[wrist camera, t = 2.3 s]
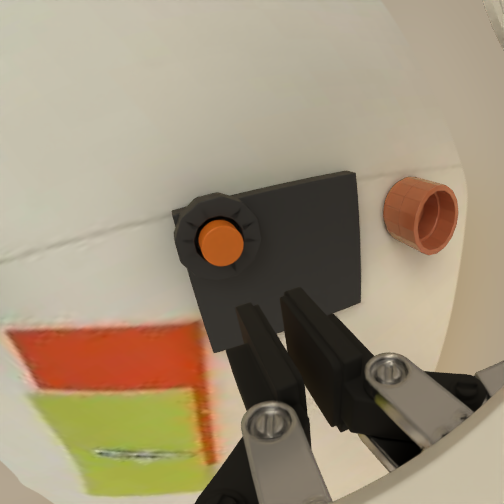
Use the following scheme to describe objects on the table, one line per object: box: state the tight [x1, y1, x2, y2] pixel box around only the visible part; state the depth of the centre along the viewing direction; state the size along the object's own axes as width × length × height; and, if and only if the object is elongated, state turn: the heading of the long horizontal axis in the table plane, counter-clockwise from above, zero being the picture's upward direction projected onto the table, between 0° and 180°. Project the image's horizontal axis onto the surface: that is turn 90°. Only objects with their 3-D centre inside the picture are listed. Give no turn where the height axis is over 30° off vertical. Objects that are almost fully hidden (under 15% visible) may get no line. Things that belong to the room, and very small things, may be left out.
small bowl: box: [383, 177, 458, 255], centre depth 25 cm, size 6×6×4 cm
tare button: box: [199, 220, 244, 266], centre depth 19 cm, size 3×3×2 cm
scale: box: [172, 171, 361, 353], centre depth 23 cm, size 13×14×3 cm
